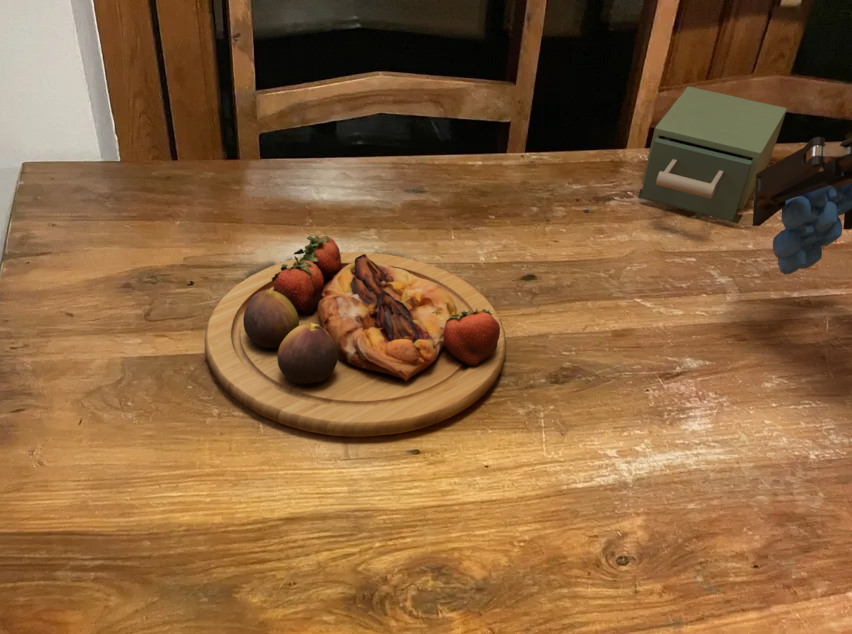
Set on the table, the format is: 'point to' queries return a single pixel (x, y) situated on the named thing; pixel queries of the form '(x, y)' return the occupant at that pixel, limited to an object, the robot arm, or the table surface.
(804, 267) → the grapes
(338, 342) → the wooden plate
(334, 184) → the table surface
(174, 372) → the table surface
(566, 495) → the table surface
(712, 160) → the drawer
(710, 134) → the cabinet
